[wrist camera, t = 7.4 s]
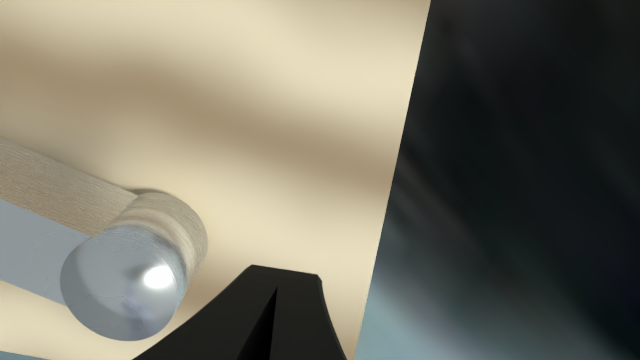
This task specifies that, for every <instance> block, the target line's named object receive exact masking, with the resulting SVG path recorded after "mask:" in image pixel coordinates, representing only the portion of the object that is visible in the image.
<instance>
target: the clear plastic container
mask: <svg viewBox="0 0 640 360" xmlns="http://www.w3.org/2000/svg"><path fill="white" fill-rule="evenodd" d="M207 251H208V236H207V232H206V228H205V226H204V224H203V222H202V220H201V218H200V217H199V216H198V214H197V213H196V212H195V211H194V210H193V209H192V208H191V207H190V206H189V205H188V204H186V203H185V202H183V201H182V200H180V199H178V198H176V197H173V196H171V195H168V194H163V193H156V192H152V193H142V194H139V195H136V194H134V193H131V192H129V191H127V190H124V189H122V188H120V187H117V186H115V185H112V184H110V183H108V182H105V181H103V180H101V179H98V178H96V177H94V176H91V175H89V174H87V173H84V172H82V171H80V170H77V169H75V168H72V167H70V166H68V165H65V164H63V163H61V162H58V161H56V160H54V159H51V158H49V157H47V156H44V155H42V154H40V153H37V152H35V151H32V150H30V149H28V148H25V147H23V146H21V145H18V144H16V143H14V142H11V141H9V140H7V139H4V138H2V137H0V280H2V281H5V282H7V283H10V284H12V285H15V286H17V287H19V288H22V289H24V290H27V291H29V292H32V293H34V294H37V295H39V296H42V297H44V298H47V299H49V300H52V301H54V302H57V303H59V304H62V305H64V306H66V307H68V309H69V310H70V311H71V313H72V314H73V315H74V316H75V318H76V319H77V320H78V321H79V322H80V323H82V324H83V325H84V326H85V327H87V328H88V329H90V330H91V331H93V332H95V333H97V334H99V335H101V336H103V337H106V338H109V339H113V340H118V341H139V340H143V339H146V338H149V337H152V336H154V335H155V334H157V333H159V332H160V331H161V330H163V329H164V328H165V327H166V326H167V324H168V323H169V322H170V320H171V319H172V317H173V315H174V313H175V312H176V310H177V308H178V306H179V304H180V303H181V301H182V299H183V297H184V296H185V294H186V292H187V290H188V288H189V287H190V285H191V283H192V281H193V280H194V278H195V276H196V274H197V272H198V271H199V269H200V267H201V265H202V264H203V262H204V260H205V258H206V255H207Z"/></svg>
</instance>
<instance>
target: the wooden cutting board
mask: <svg viewBox="0 0 640 360" xmlns="http://www.w3.org/2000/svg"><path fill="white" fill-rule="evenodd" d="M430 1H431V0H0V137H2V138H4V139H7V140H9V141H11V142H14V143H16V144H18V145H21V146H23V147H25V148H28V149H30V150H32V151H35V152H37V153H40V154H42V155H44V156H47V157H49V158H51V159H54V160H56V161H58V162H61V163H63V164H65V165H68V166H70V167H72V168H75V169H77V170H80V171H82V172H84V173H87V174H89V175H91V176H94V177H96V178H98V179H101V180H103V181H105V182H108V183H110V184H112V185H115V186H117V187H120V188H122V189H124V190H127V191H129V192H131V193H134V194H136V195H139V194H142V193H152V192H156V193H163V194H168V195H171V196H173V197H176V198H178V199H180V200H182V201H183V202H185V203H186V204H188V205H189V206H190V207H191V208H192V209H193V210H194V211H195V212H196V213H197V214H198V216H199V217H200V218H201V220H202V222H203V224H204V226H205V228H206V232H207V236H208V251H207V255H206V258H205V260H204V262H203V264H202V265H201V267H200V269H199V271H198V272H197V274H196V276H195V278H194V280H193V281H192V283H191V285H190V287H189V288H188V290H187V292H186V294H185V296H184V297H183V299H182V301H181V303H180V304H179V306H178V308H177V310H176V312H175V313H174V315H173V317H172V319H171V320H170V322H169V323H168V324H167V326H166V327H165V328H164V329H163V330H161V331H160V332H159V333H157V334H155V335H154V336H152V337H149V338H146V339H143V340H139V341H118V340H113V339H109V338H106V337H103V336H101V335H99V334H97V333H95V332H93V331H91V330H90V329H88V328H87V327H85V326H84V325H83V324H82V323H80V322H79V321H78V320H77V319H76V318H75V316H74V315H73V314H72V313H71V311H70V310H69V309H68V307H66V306H64V305H62V304H59V303H57V302H54V301H52V300H49V299H47V298H44V297H42V296H39V295H37V294H34V293H32V292H29V291H27V290H24V289H22V288H19V287H17V286H15V285H12V284H10V283H7V282H5V281H2V280H0V351H5V352H11V353H17V354H22V355H28V356H34V357H39V358H45V359H51V360H132V359H133V358H135V357H137V356H138V355H140V354H141V353H143V352H144V351H146V350H147V349H149V348H150V347H152V346H153V345H154V344H156V343H157V342H159V341H160V340H161V339H163V338H164V337H165V336H167V335H168V334H169V333H171V332H172V331H174V330H175V329H176V328H178V327H179V326H180V325H182V324H183V323H184V322H186V321H187V320H188V319H189V318H191V317H192V316H193V315H194V314H196V313H197V312H198V311H199V310H200V309H201V308H203V307H204V306H205V305H206V304H207V303H209V302H210V301H211V300H212V299H213V298H215V297H216V296H217V295H218V294H219V293H220V292H221V291H222V290H224V289H225V288H226V287H227V286H228V285H229V284H230V283H231V282H232V281H233V280H234V279H235V278H236V277H237V276H238V275H239V274H240V273H242V272H243V271H244V270H245V269H246V268H247V267H249V266H250V265H252V264H253V265H260V266H266V267H273V268H279V269H286V270H292V271H299V272H305V273H312V274H317V275H318V276H319V277H320V279H321V280H322V287H323V293H324V298H325V302H326V305H327V309H328V312H329V315H330V318H331V321H332V324H333V327H334V329H335V332H336V334H337V337H338V339H339V342H340V344H341V347H342V349H343V351H344V354H345V356H346V358H347V360H354V357H355V352H356V347H357V343H358V338H359V333H360V329H361V324H362V319H363V315H364V310H365V305H366V301H367V296H368V291H369V286H370V282H371V277H372V272H373V268H374V263H375V258H376V254H377V249H378V244H379V240H380V235H381V230H382V226H383V221H384V216H385V212H386V207H387V202H388V198H389V193H390V188H391V183H392V179H393V174H394V169H395V165H396V160H397V155H398V151H399V146H400V141H401V137H402V132H403V127H404V123H405V118H406V113H407V109H408V104H409V99H410V95H411V90H412V85H413V80H414V76H415V71H416V66H417V62H418V57H419V52H420V48H421V43H422V38H423V34H424V29H425V24H426V20H427V15H428V10H429V6H430Z"/></svg>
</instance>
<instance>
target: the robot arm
mask: <svg viewBox="0 0 640 360" xmlns="http://www.w3.org/2000/svg"><path fill="white" fill-rule="evenodd" d="M132 360H347V358H346V356H345V354H344V351H343V349H342V347H341V344H340V342H339V339H338V337H337V334H336V332H335V329H334V327H333V324H332V321H331V318H330V315H329V312H328V309H327V305H326V302H325V298H324V293H323V287H322V280H321V279H320V277H319V276H318V275H317V274H312V273H305V272H299V271H292V270H286V269H279V268H273V267H266V266H260V265H253V264H252V265H250V266H249V267H247V268H246V269H245V270H244V271H243V272H242V273H240V274H239V275H238V276H237V277H236V278H235V279H234V280H233V281H232V282H231V283H230V284H229V285H228V286H227V287H226V288H225V289H224V290H222V291H221V292H220V293H219V294H218V295H217V296H216V297H215V298H213V299H212V300H211V301H210V302H209V303H207V304H206V305H205V306H204V307H203V308H201V309H200V310H199V311H198V312H197V313H196V314H194V315H193V316H192V317H191V318H189V319H188V320H187V321H186V322H184V323H183V324H182V325H180V326H179V327H178V328H176V329H175V330H174V331H172V332H171V333H169V334H168V335H167V336H165V337H164V338H163V339H161V340H160V341H159V342H157V343H156V344H154V345H153V346H152V347H150V348H149V349H147V350H146V351H144V352H143V353H141V354H140V355H138V356H137V357H135V358H133V359H132Z"/></svg>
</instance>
